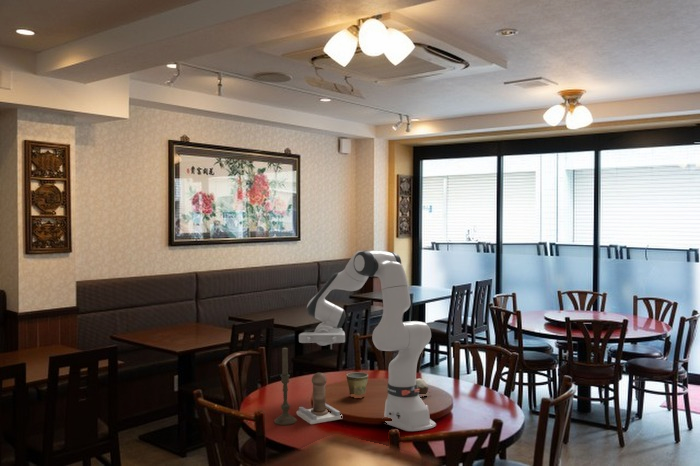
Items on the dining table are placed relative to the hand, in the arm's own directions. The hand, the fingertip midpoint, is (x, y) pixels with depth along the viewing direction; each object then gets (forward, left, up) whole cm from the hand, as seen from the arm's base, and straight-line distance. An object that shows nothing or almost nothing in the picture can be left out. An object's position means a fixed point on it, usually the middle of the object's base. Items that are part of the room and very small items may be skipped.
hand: (320, 340), depth 258 cm
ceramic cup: (+10, -23, -29) cm, 38 cm away
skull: (-3, -48, -29) cm, 57 cm away
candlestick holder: (-9, +20, -29) cm, 36 cm away
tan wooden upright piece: (-10, +5, -28) cm, 30 cm away
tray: (-10, +5, -29) cm, 31 cm away
